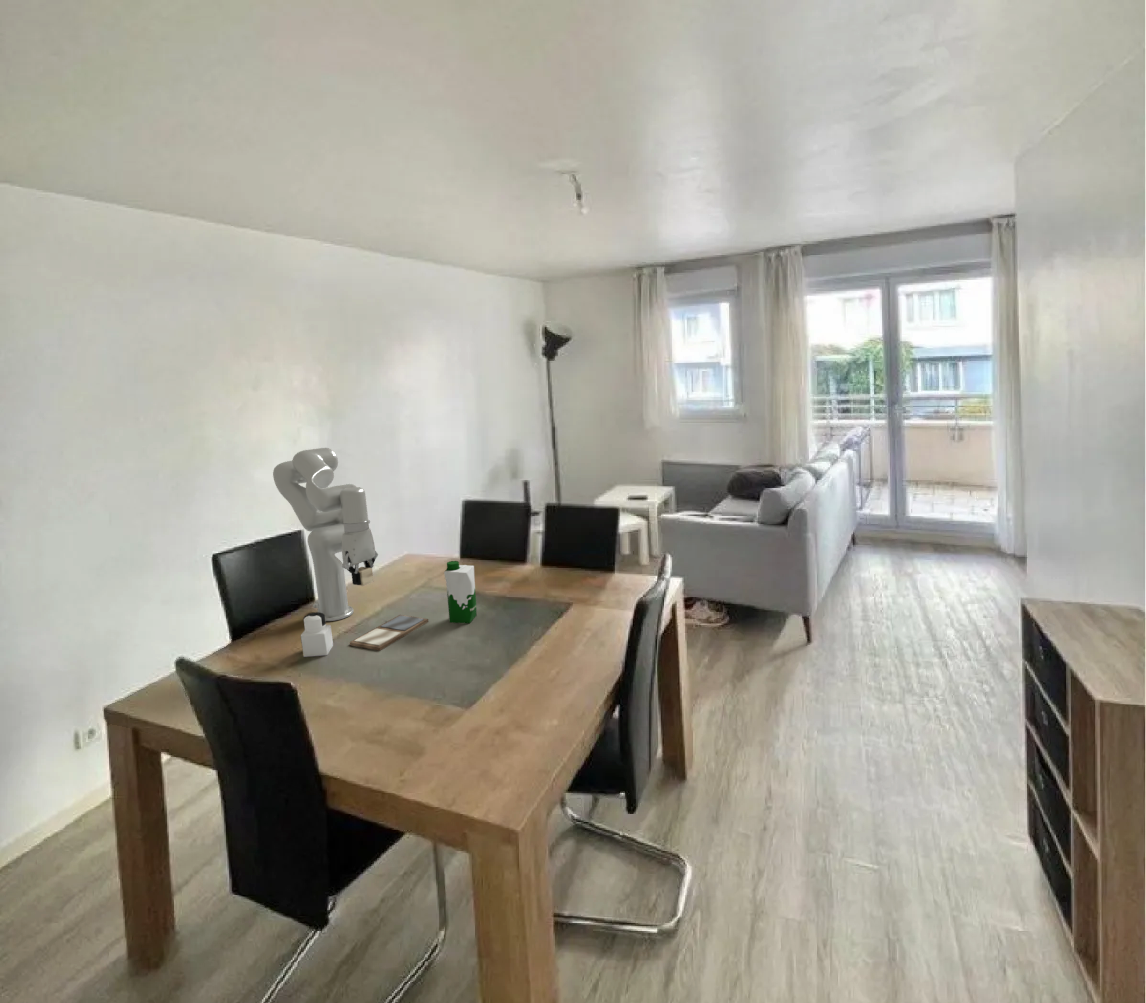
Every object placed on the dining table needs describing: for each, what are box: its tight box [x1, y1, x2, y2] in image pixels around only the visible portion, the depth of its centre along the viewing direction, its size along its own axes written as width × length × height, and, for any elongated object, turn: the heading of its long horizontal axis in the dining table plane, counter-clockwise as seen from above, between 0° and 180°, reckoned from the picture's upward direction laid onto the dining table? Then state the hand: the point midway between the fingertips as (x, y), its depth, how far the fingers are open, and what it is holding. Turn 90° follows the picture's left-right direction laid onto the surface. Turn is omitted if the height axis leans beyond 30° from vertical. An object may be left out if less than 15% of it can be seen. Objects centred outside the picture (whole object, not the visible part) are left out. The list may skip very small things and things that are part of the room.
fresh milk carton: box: [443, 560, 477, 624], centre depth 221 cm, size 9×9×20 cm
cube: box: [358, 566, 375, 587], centre depth 211 cm, size 4×4×4 cm
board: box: [349, 614, 429, 652], centre depth 214 cm, size 12×24×1 cm, turn 155°
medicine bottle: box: [300, 611, 334, 658], centre depth 201 cm, size 7×7×12 cm
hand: (363, 581), depth 211 cm, fingers closed on cube, 4 cm apart
